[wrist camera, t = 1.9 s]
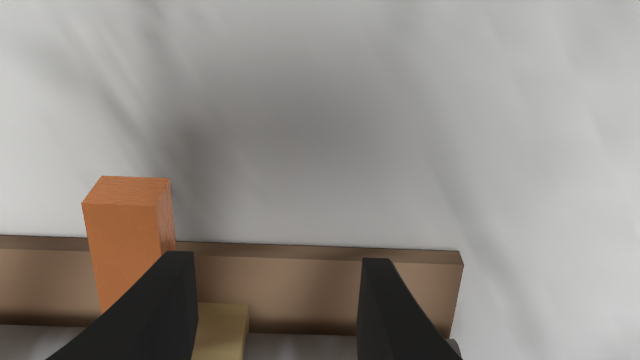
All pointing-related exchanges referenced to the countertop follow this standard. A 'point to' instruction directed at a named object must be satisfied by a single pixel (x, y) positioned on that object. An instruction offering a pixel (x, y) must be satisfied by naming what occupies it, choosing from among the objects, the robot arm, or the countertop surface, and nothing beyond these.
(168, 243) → the valve lever
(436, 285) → the valve board
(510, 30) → the countertop surface
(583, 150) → the countertop surface
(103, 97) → the countertop surface
